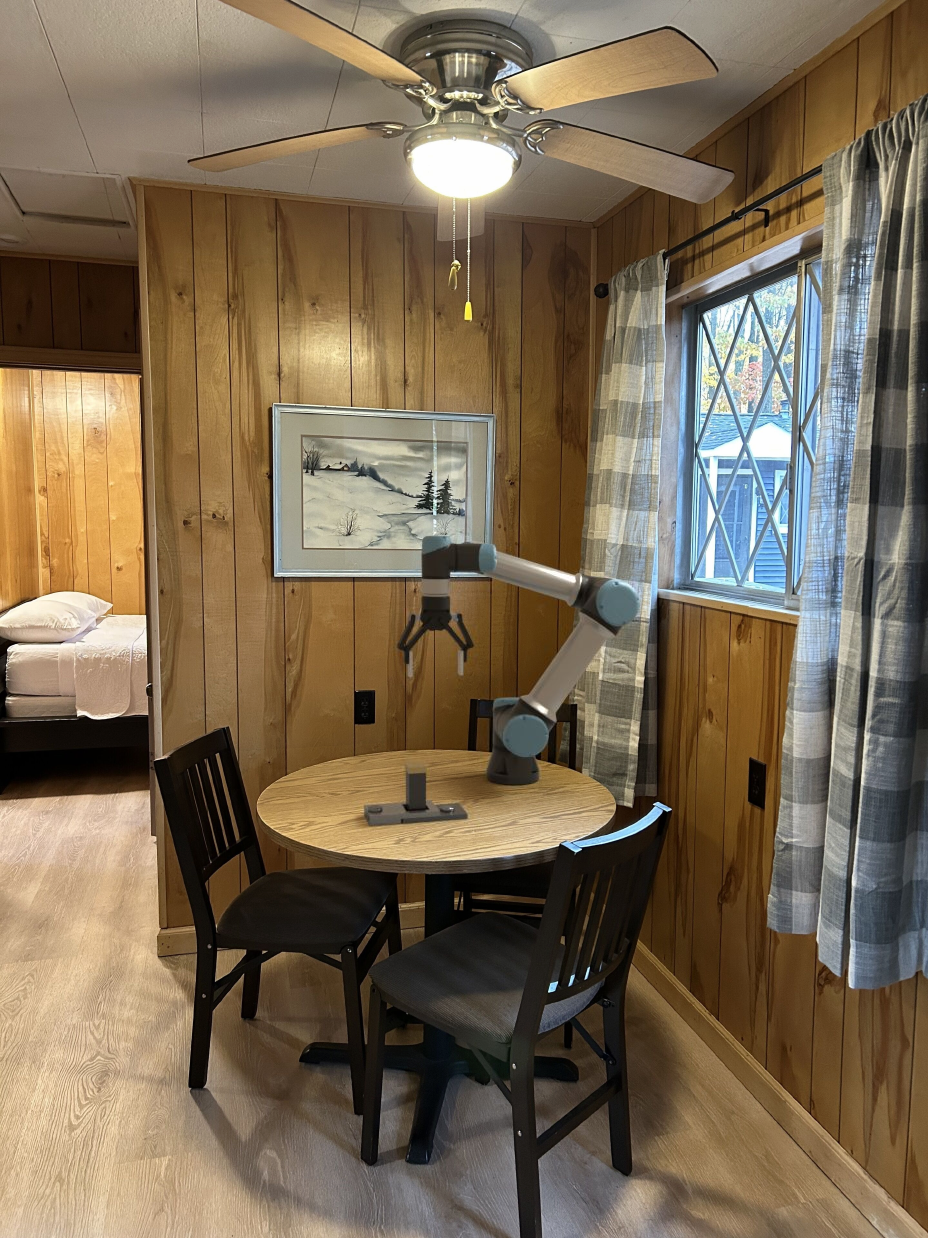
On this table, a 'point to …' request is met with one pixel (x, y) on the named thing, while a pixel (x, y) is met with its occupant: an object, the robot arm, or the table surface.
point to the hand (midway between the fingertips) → (435, 675)
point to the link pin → (415, 786)
